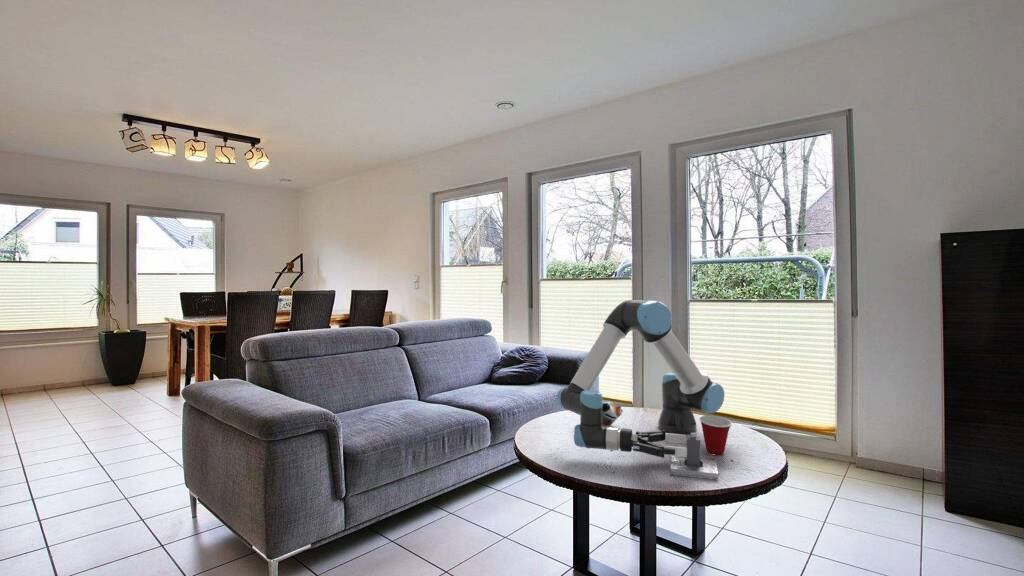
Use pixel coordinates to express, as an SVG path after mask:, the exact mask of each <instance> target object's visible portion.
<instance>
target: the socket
mask: <svg viewBox="0 0 1024 576" xmlns="http://www.w3.org/2000/svg"><path fill="white" fill-rule="evenodd" d="M670 456H671V455H670ZM716 461H717V459H716V457H706V456H700V467H697V466H688V465H687V454H686V457H682V456H671V457H670V475H671V474H674V475H673V476H678V475H682V476H681V477H687V476H691V477H690V478H696V477H702V478H701V479H705V478H712V479H711V480H714V479H718V480H719V472H718V465H717V462H716Z"/></svg>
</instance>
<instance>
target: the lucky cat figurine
mask: <svg viewBox="0 0 1024 576" xmlns="http://www.w3.org/2000/svg"><path fill="white" fill-rule="evenodd" d="M602 402H603V406H602V426H603V427H612V426H611V425H612V424H614V423H615V421H616V420H618V418H619V417H621V415H622V414H623V411H624V410H623V409H622V406H621V405H616V404H614V403H613V402H612V401H608V400H606V401H604V400H602Z"/></svg>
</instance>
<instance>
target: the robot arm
mask: <svg viewBox="0 0 1024 576" xmlns="http://www.w3.org/2000/svg"><path fill="white" fill-rule="evenodd" d="M672 317H673V316H672V313H671V310H670V308H669V307H668V306H667V305H666V304H665V303H663V302H661V301H656V300H643V299H641V300H639V299H627V300H624V301H623V302H620V304H618V305H617V306H615V308H614V309H613V310H612V311H611V312H610V313H609V315H608V316H607V317H606V319H605V320H604V322H603V324H602V328H603V329H602V330H601V332H600V334H599V335H598V337H597V338H596V340H595V342H594V343H593V345H592V346H591V348H590V350H589V352H588V353H587V355H586V356H585V358H584V360H583V361H582V363H581V364H580V366H579V368H578V369H577V371H576V373H575V374H574V376H573V378H572V379H571V381H570V383H569V384H568V385H567V387H562V388H561V389H560V390H558V391H557V394H556V402H557V404H558V405H559V406H560V407H562V408H563V409H564V410H567V411H570V412H572V413H575V414H576V415H579V416H580V419H579V420H580V423H579V424H576V425H575V427H574V431H573V443H574V444H575V445H574V446H576V447H578V448H579V447H581V448H586V449H597V450H608V451H610V452H613V451H617V452H618V451H620V452H628V453H631V452H632V451H634V452H639V453H643V454H647V455H650V456H654V457H658V458H665V456H682V457H686V455H687V447H684V446H672V445H664V446H662V445H660V444H657V442H663V441H665V442H667V443H675V444H676V443H679V444H686V434H690V433H696V431H697V421H696V419H695V416H694V412H693V409H694V410H698V411H700V412H703V413H708V414H715V413H716V412H718V411H719V410H721V407H722V406H723V403H724V401H725V389H724V388H723V386H722V385H721V384H719V383H718V382H713V381H712V379H711V378H710V377H709V375H708V374H707V373H706V372H704V371H701V370H699V368H698V366H696V364H695V362H694V361H693V360H692V358H691V357H690V355H689V353H687V350H685V347H684V346H682V344H681V342H680V341H679V340H678V337H676V335H675V334H674V332H673V331H672V329H673V324H672V323H673V319H672ZM631 331H632V332H637V333H639V335H640V336H641V338H642V339H643V340H644V341H645V343H649V344H651V345H652V346H653V347H654V349H655V350H656V352H657V353H658V354H659V356H660V357H661V358H662V360H663V361H664V363H665V364H666V365H667V367H668V369H670V371H671V372H668V373H665V374H663V375H662V382H661V385H662V386H661V387H662V389H661V394H662V396H661V397H662V398H661V399H662V409H661V412H660V414H659V418H658V421H657V424H658V425H657V426H658V428H659V430H651V431H635V434H633V430H632V429H631V428H626V427H625V428H620V427H614V426H613V427H612V426H610V427H603V426H602V406H603V402H602V401H603V394H602V393H601V392H600V391H599V390H593V389H592V387H593V386H594V384H595V383H596V381H597V379H598V377H599V375H600V374H601V372H602V371H603V369H604V368H605V366H606V364H607V363H608V361H609V359H610V357H611V356H612V355H613V352H614V351H615V350H616V347H617V346H618V345H619V343H620V341H621V340H622V339H625V338H626V336H627V334H628V333H630V332H631ZM667 432H668V433H667ZM655 442H656V443H655Z"/></svg>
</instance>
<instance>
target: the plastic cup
mask: <svg viewBox="0 0 1024 576" xmlns="http://www.w3.org/2000/svg"><path fill="white" fill-rule="evenodd" d="M699 421H700V424H701V428H702V435H703V442H704V444H705V445H704V446H705V451H706V453H707V452H708V453H707V454H709V453H710V454H709V455H711V454H715V455H714V456H723V455H725V449H726V446H727V442H728V441H727V440H728V436H729V431H730V428H731V426H732V425H733V421H731V419H728V418H725V417H721V416H715V415H702V416H700V417H699ZM722 454H723V455H722Z"/></svg>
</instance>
